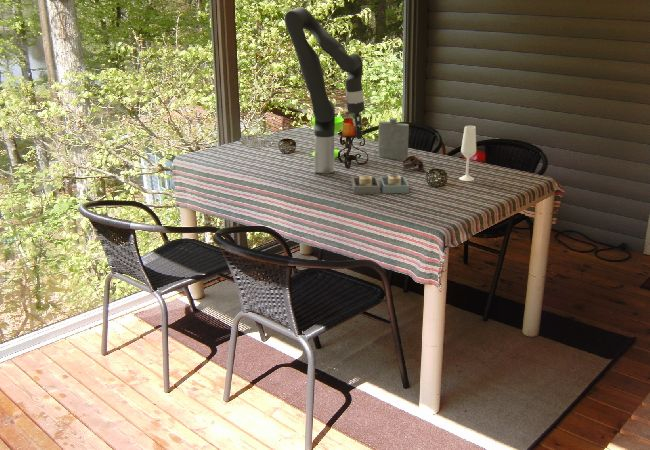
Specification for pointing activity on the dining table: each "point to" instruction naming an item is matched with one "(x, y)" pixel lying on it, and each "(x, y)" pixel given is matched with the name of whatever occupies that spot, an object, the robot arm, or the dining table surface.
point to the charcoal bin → (365, 189)
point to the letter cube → (394, 180)
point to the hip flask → (393, 139)
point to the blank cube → (365, 181)
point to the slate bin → (394, 189)
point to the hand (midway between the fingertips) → (358, 136)
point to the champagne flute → (468, 148)
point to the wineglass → (337, 127)
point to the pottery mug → (413, 162)
